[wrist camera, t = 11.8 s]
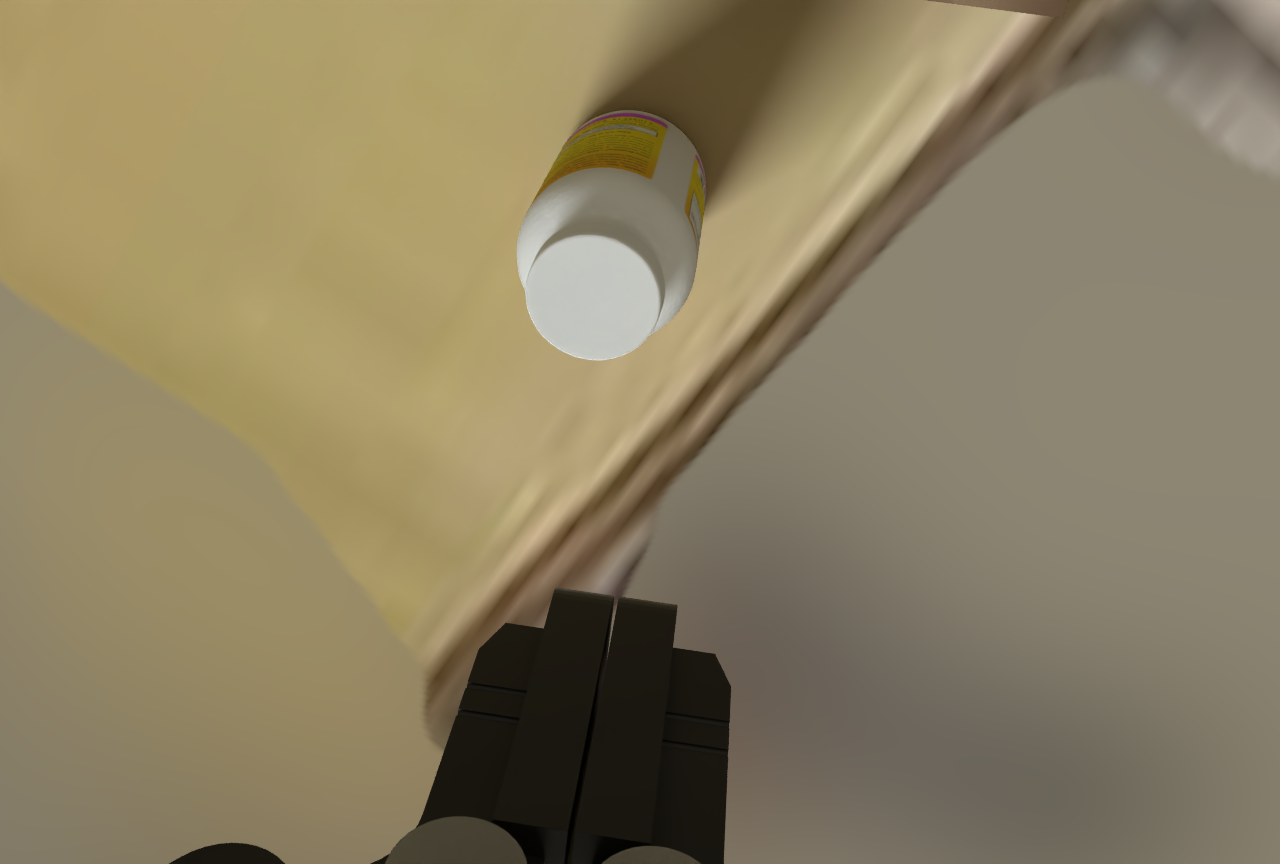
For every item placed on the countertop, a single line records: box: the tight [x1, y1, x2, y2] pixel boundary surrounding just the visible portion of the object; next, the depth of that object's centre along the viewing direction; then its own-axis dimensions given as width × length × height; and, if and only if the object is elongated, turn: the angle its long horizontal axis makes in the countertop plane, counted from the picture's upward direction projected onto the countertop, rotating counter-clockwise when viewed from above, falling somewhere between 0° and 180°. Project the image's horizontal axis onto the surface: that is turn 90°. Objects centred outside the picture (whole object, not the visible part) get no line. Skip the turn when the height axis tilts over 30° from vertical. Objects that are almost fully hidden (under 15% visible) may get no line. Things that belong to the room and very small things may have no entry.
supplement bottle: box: [517, 110, 706, 360], centre depth 43 cm, size 7×7×13 cm
